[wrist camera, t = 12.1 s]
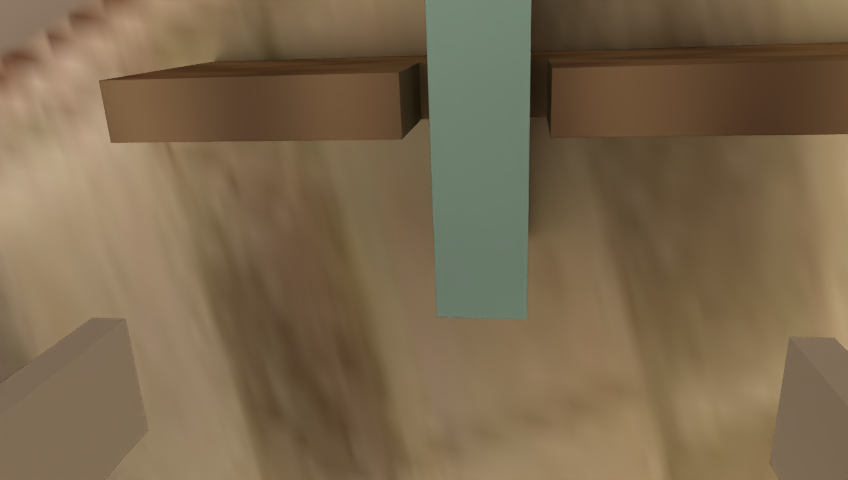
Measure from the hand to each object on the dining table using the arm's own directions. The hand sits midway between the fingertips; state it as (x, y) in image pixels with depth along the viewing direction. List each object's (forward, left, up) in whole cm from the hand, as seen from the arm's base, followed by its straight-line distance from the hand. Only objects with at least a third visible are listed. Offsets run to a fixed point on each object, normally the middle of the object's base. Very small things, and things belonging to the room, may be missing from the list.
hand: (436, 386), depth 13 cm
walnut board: (+1, +4, -16) cm, 17 cm away
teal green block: (0, +4, -17) cm, 17 cm away
